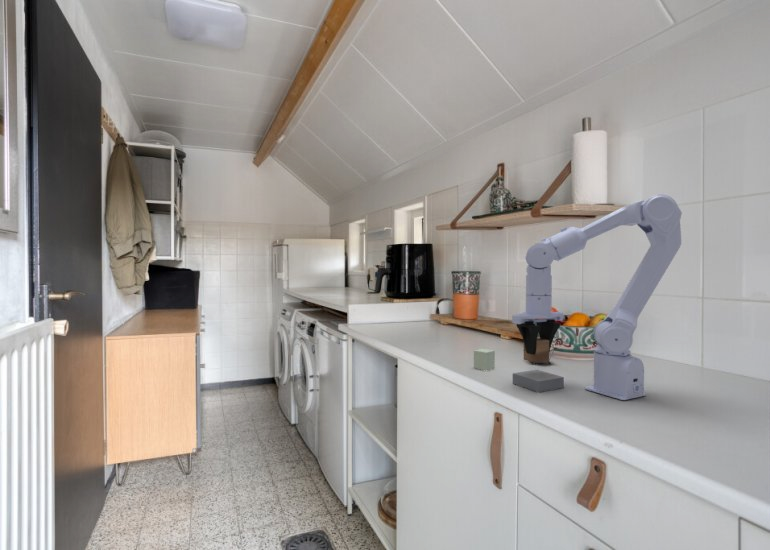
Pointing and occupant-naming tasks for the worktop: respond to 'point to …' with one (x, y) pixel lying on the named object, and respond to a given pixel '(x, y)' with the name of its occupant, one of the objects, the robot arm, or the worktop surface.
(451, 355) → the worktop surface
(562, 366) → the worktop surface
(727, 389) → the worktop surface
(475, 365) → the sage block
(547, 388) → the slate tile
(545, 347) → the walnut block
